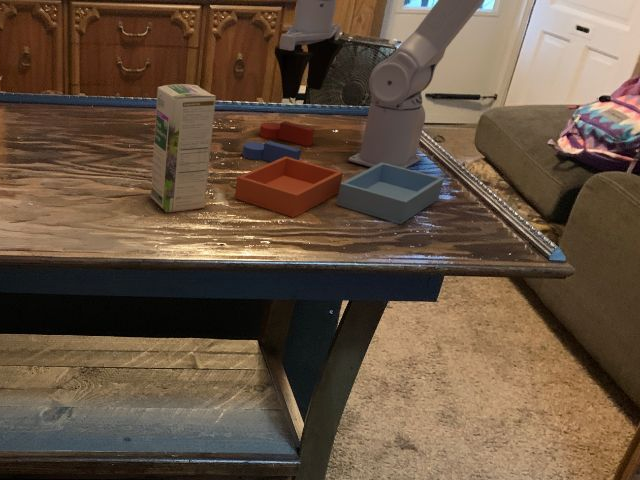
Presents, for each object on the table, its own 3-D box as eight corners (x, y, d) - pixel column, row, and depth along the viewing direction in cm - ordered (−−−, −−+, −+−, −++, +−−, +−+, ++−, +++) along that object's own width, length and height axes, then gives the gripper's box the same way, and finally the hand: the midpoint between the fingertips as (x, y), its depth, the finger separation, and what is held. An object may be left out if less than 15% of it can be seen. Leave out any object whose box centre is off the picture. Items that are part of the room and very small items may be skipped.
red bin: (282, 176, 110) (285, 156, 108) (339, 193, 105) (343, 172, 104) (234, 198, 103) (237, 177, 101) (293, 217, 98) (297, 195, 96)
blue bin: (376, 182, 109) (381, 161, 108) (438, 199, 105) (444, 178, 103) (336, 204, 102) (340, 183, 100) (400, 224, 97) (406, 202, 95)
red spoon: (255, 135, 126) (257, 119, 125) (267, 130, 129) (269, 114, 127) (303, 148, 121) (306, 131, 120) (315, 143, 124) (318, 126, 122)
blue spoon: (237, 155, 117) (239, 138, 116) (251, 150, 120) (253, 133, 118) (289, 170, 112) (292, 153, 111) (302, 164, 115) (305, 147, 113)
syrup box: (149, 197, 102) (154, 85, 93) (188, 193, 104) (197, 82, 95) (165, 213, 97) (172, 96, 89) (207, 208, 99) (217, 93, 91)
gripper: (317, -11, 118) (303, 80, 126) (267, -2, 109) (255, 95, 117) (359, -5, 115) (341, 88, 123) (310, 5, 106) (295, 105, 113)
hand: (302, 92), depth 120 cm, fingers open, 7 cm apart
